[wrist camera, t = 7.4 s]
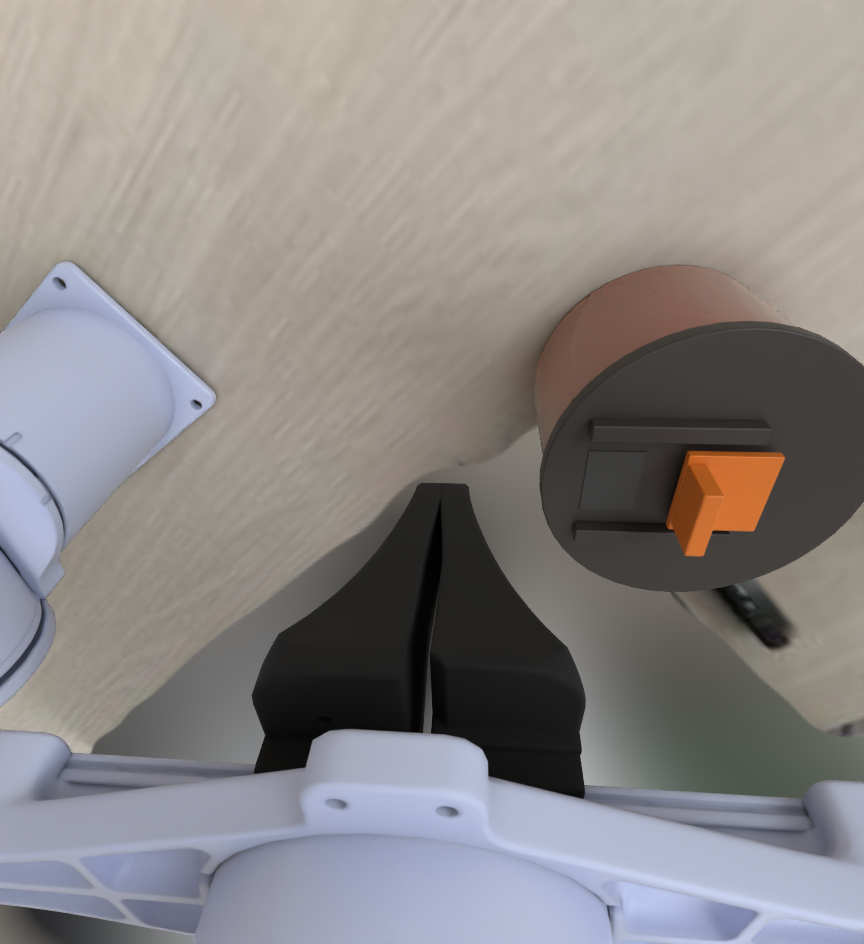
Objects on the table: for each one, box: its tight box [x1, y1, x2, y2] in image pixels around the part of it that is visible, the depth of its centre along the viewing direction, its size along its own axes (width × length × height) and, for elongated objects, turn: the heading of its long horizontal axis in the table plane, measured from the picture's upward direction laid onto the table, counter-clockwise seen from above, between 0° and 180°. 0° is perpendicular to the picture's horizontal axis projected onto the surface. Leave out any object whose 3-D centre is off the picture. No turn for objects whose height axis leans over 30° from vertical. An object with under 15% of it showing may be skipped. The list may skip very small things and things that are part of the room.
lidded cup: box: [534, 265, 864, 592], centre depth 21 cm, size 11×11×8 cm
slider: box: [666, 451, 785, 556], centre depth 17 cm, size 3×3×2 cm
